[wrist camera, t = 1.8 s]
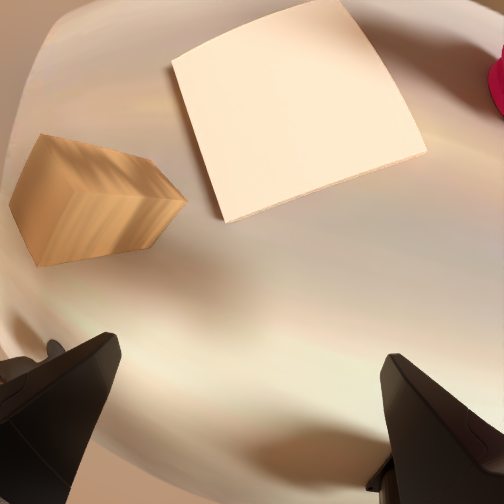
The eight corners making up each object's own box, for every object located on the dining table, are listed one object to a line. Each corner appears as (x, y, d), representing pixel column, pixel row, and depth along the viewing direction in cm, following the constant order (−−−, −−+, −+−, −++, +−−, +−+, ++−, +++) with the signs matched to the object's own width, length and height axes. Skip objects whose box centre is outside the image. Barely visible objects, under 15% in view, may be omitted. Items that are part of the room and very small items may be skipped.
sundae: (46, 368, 30) (-36, 408, 16) (41, 324, 29) (-54, 359, 14) (78, 392, 28) (-10, 445, 14) (74, 347, 27) (-32, 396, 13)
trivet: (421, 155, 17) (427, 150, 15) (233, 222, 21) (225, 223, 19) (335, 6, 17) (334, -5, 15) (179, 68, 21) (171, 61, 19)
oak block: (187, 201, 22) (74, 192, 11) (150, 247, 23) (37, 267, 12) (150, 160, 22) (40, 133, 12) (117, 205, 23) (8, 205, 13)
